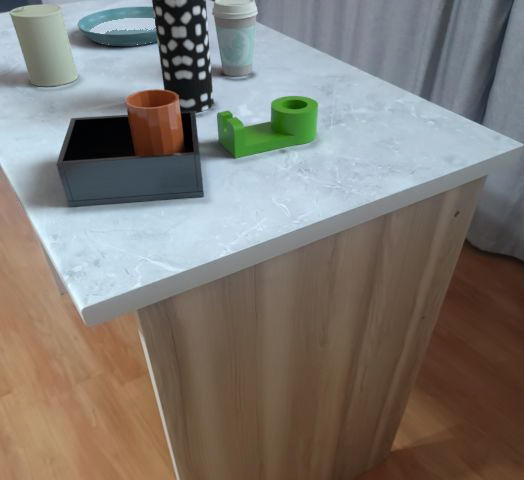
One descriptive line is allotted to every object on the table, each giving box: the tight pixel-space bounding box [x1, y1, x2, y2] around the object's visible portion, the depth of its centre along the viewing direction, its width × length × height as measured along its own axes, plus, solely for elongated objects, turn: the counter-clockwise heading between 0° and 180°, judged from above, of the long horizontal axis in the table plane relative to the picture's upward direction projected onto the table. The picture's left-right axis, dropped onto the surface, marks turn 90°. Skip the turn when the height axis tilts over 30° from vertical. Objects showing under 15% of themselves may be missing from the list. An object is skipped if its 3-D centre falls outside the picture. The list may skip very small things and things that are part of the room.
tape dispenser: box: [216, 95, 319, 159], centre depth 79 cm, size 15×7×5 cm, turn 116°
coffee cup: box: [211, 0, 259, 77], centre depth 99 cm, size 8×8×12 cm
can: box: [9, 3, 79, 88], centre depth 97 cm, size 9×9×12 cm
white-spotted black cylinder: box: [151, 0, 215, 113], centre depth 84 cm, size 8×8×20 cm
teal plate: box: [77, 6, 158, 47], centre depth 122 cm, size 24×24×3 cm
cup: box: [124, 88, 186, 156], centre depth 70 cm, size 7×7×9 cm
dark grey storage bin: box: [55, 110, 205, 208], centre depth 70 cm, size 17×14×6 cm
